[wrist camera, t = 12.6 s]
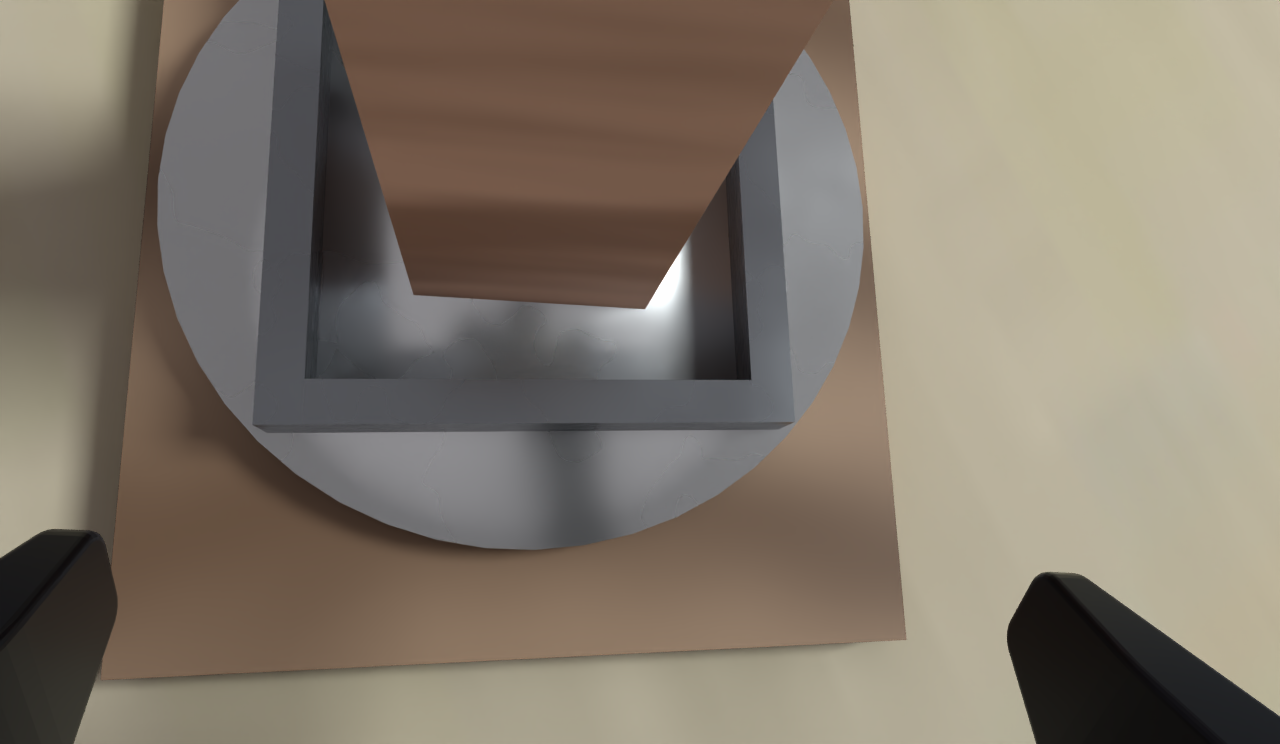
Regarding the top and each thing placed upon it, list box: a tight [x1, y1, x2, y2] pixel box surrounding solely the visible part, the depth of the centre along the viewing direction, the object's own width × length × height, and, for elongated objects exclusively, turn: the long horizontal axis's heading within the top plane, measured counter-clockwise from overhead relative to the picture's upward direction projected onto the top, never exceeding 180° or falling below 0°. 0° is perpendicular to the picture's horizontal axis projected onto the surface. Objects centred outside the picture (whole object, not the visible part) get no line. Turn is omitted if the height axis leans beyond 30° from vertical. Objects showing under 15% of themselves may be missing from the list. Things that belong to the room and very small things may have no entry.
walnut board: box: [101, 0, 906, 680], centre depth 19 cm, size 18×15×1 cm
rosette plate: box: [157, 0, 863, 550], centre depth 17 cm, size 14×14×2 cm
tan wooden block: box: [325, 0, 833, 309], centre depth 13 cm, size 4×4×10 cm
